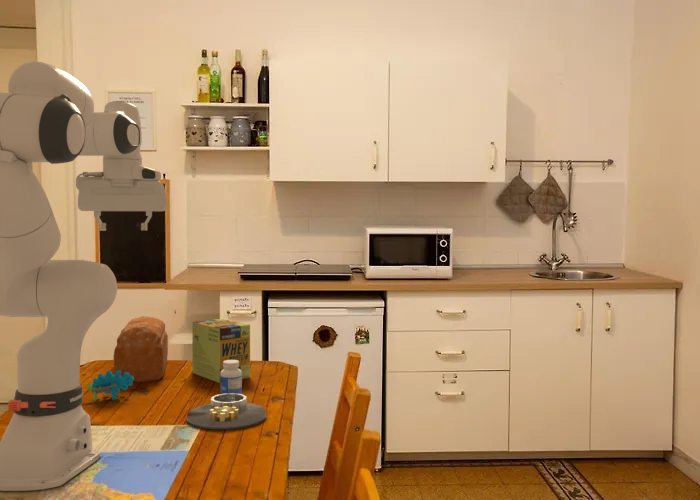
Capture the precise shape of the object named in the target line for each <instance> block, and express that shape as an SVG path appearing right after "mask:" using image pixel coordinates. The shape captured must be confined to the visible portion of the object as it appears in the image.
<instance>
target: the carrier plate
mask: <svg viewBox="0 0 700 500" xmlns="http://www.w3.org/2000/svg"><path fill="white" fill-rule="evenodd" d="M247 399H248V397H247V395H244V394H243V393H242V394H237V393H227V394H226V393H225V394H216V395H214V396H211V398H210V403H207V404H203V405H199V406H196V407H193V408H192V409H190V410H189V411H188V412H187V413H186V422H187V424H189V425H191V426H192V427H194V428H197V429H202V430H211V431H230V430H232V431H233V430H240V429H241V430H242V429H246V428H249V427H253V426H256V425H259V424H260V423H263V422H264V421H265V420H266V418H267V410H266V408H264V407H263V406H262V405H259V404H255V403H251V402H247V401H248V400H247Z"/></svg>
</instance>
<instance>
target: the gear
mask: <svg viewBox="0 0 700 500" xmlns="http://www.w3.org/2000/svg"><path fill="white" fill-rule="evenodd" d="M120 375H121V370H117V371H116V375H115V374H114V373H112V371H111V370H107V371H106V372H105V374H103V373H99V374H98V375H97V378H96V377H95V378H93V379H92V383H88V384H87V390H88V391H91V394H93V402H97V401H98V396H97V395H98V394H102V393H104V394H105V395H108V394H111V400H112V401H115V400H117V394H118V393H120V392H121V390H123V391H126V390H128V388H129V386H133V382H132V381H133V380H134V379H133V376H130V375H129V372H124V375H123V376H120ZM127 377H128V378H127Z"/></svg>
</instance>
